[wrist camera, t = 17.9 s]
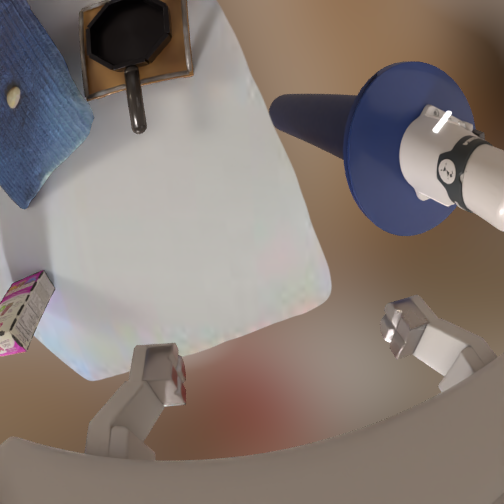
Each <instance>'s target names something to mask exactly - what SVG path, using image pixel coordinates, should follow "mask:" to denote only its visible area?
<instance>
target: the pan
mask: <svg viewBox="0 0 504 504" xmlns="http://www.w3.org/2000/svg"><path fill="white" fill-rule="evenodd" d="M87 27H88V29H86V45H87V55H88V56H89V58H91V59H92V60H94V61H96V62H98V63H100V64H101V65H103V66H105V67H107V68H108V69H110V70H113V71H116V72H123V71H124V78H125V86H126V93H127V100H128V107H129V113H130V120H131V126H132V130H133V132H134V133H136V134H141V133H143V132H144V131H145V130H146V128H147V124H146V117H145V111H144V104H143V97H142V90H141V82H140V74H139V68H138V67H142V66H146V65H149V62H151V63H152V62H153V61H154V60H155V58H156V57H157V56H158V55H159V54H160V52H161V51H162V50H163V49H164V48H165V47H166V45H167V44H168V43H169V42H170V41H171V38H172V27H171V15H170V10H169V8H168V6H167V4H166V3H164V2H162V1H160V0H110V1H109V3H106V4H105V5H104V6H103V7H102V8H101V10H100V11H99V12H98V13H97V14H96V16H95V17H94V18H93V19H92V21H91V22H90V23H89V24H88V26H87Z"/></svg>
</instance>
